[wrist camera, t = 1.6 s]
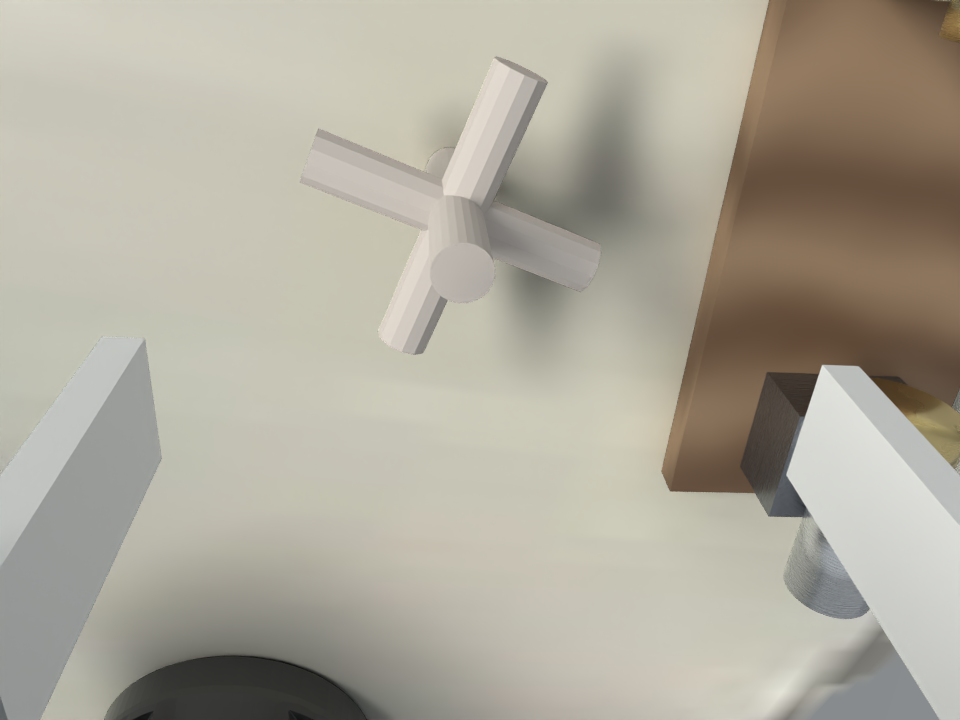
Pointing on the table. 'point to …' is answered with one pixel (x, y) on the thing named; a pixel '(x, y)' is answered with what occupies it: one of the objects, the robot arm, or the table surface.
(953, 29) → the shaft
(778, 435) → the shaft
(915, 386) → the board
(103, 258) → the table surface
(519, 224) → the pipe connector
